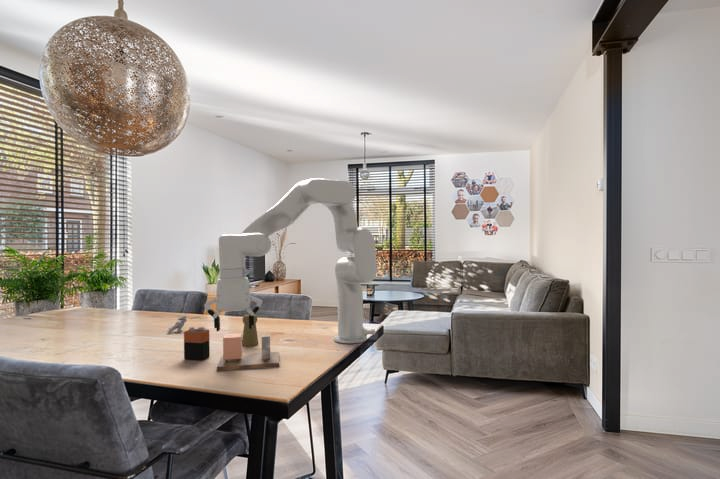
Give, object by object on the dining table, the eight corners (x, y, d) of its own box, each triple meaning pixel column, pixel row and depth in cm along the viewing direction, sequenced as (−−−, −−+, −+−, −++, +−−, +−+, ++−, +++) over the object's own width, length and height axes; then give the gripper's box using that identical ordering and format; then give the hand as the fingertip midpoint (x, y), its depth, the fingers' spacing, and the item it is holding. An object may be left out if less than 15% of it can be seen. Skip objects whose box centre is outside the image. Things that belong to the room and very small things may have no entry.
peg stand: (278, 355, 136) (278, 330, 136) (279, 366, 124) (279, 339, 124) (221, 359, 132) (221, 333, 132) (216, 371, 121) (216, 343, 121)
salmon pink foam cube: (242, 353, 131) (242, 333, 130) (241, 358, 125) (240, 337, 125) (225, 355, 129) (225, 334, 129) (223, 359, 124) (223, 338, 124)
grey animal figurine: (161, 332, 172) (178, 321, 180) (170, 342, 172) (187, 330, 179) (167, 319, 167) (185, 308, 174) (177, 330, 166) (194, 318, 174)
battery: (202, 360, 131) (202, 329, 131) (183, 359, 132) (183, 328, 132) (210, 357, 135) (210, 326, 135) (191, 356, 136) (191, 325, 136)
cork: (254, 347, 147) (253, 316, 147) (238, 346, 148) (238, 315, 148) (261, 342, 153) (261, 313, 153) (246, 342, 154) (246, 312, 154)
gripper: (261, 271, 133) (263, 324, 133) (205, 274, 129) (207, 328, 130) (261, 273, 126) (262, 329, 126) (201, 276, 122) (203, 334, 122)
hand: (234, 329), depth 128 cm, fingers open, 9 cm apart
